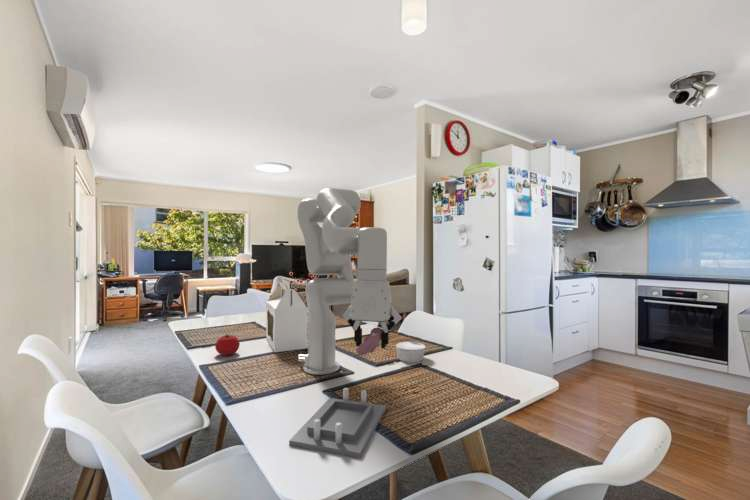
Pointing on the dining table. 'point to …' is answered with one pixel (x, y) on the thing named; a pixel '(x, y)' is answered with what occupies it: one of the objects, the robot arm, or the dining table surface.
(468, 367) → the dining table surface
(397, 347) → the ramekin
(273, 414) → the dining table surface
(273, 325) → the gable box
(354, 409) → the tray
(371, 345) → the pink rounded piece
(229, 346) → the tomato
